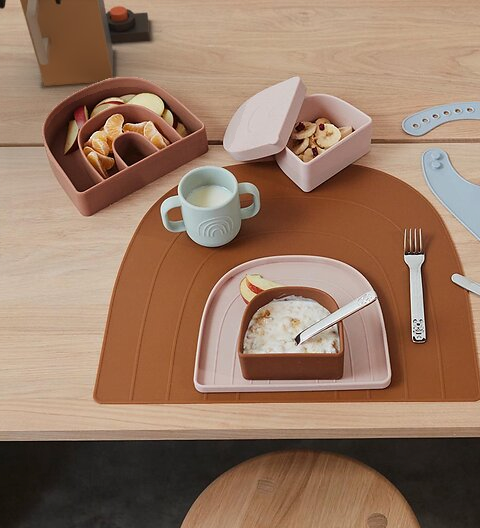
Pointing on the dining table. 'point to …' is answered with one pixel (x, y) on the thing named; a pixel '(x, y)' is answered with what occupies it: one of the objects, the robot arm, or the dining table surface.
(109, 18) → the control block
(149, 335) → the dining table surface
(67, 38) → the cupboard door
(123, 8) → the button
